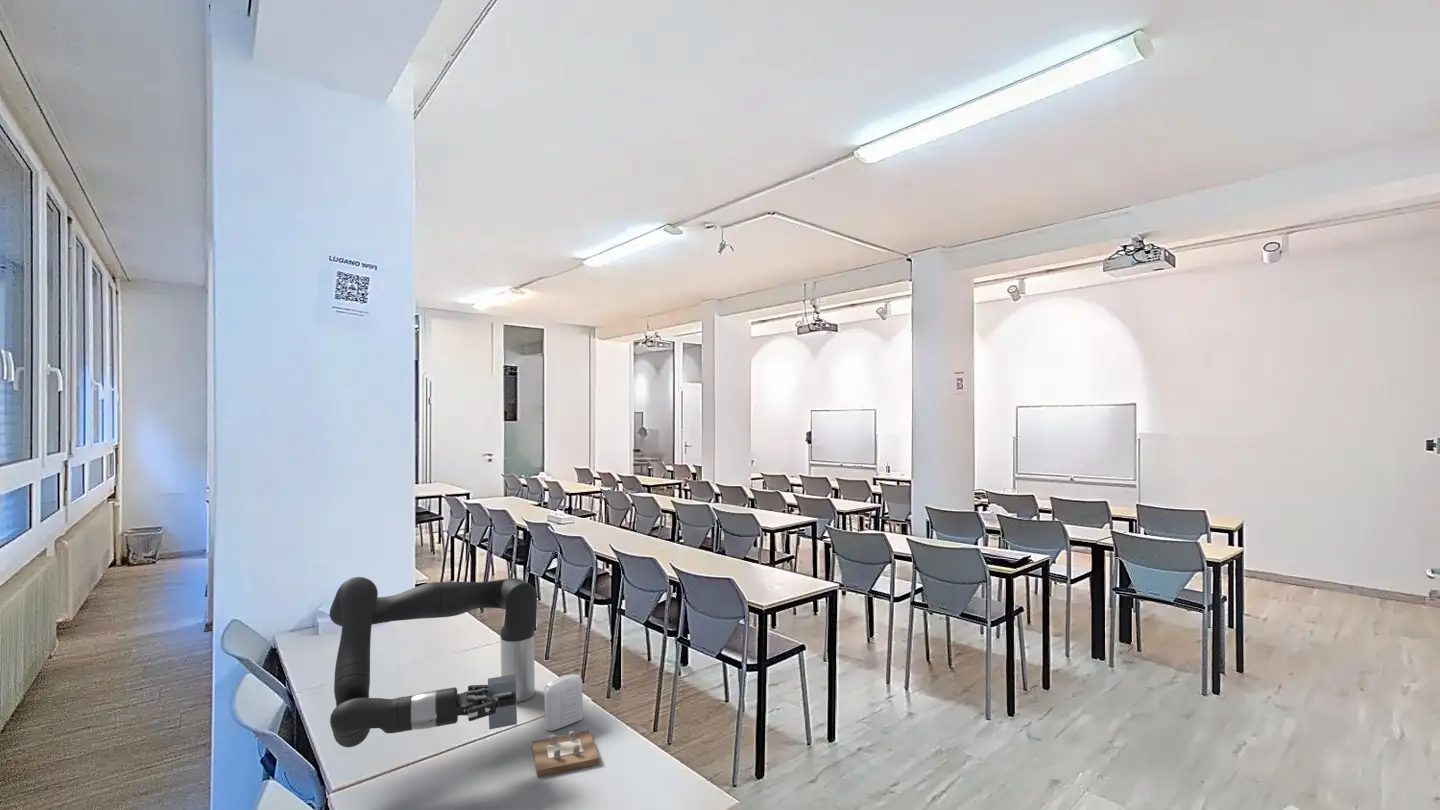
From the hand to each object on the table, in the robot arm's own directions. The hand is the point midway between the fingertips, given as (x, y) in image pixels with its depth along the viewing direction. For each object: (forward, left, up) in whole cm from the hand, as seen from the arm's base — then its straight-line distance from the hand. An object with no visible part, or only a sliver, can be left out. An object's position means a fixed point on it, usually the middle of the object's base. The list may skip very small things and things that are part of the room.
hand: (514, 694), depth 153 cm
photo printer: (-16, +13, -17) cm, 27 cm away
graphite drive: (0, -3, -6) cm, 7 cm away
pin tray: (0, +11, -17) cm, 20 cm away
